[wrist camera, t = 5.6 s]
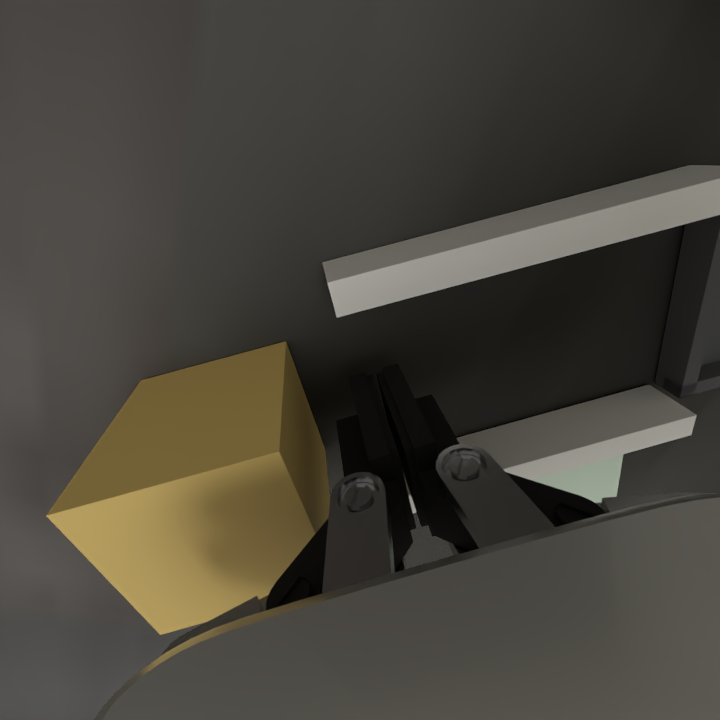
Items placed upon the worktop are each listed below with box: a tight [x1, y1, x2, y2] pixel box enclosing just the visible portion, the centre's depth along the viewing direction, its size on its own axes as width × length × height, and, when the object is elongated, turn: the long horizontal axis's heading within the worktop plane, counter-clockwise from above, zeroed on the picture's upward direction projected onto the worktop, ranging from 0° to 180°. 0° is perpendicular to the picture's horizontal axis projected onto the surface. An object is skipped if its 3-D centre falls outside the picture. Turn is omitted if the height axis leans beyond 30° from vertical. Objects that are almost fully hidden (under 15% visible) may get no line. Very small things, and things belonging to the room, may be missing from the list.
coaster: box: [532, 454, 623, 503], centre depth 18 cm, size 6×6×1 cm
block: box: [46, 341, 330, 635], centre depth 12 cm, size 5×5×6 cm
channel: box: [322, 165, 720, 513], centre depth 13 cm, size 12×10×2 cm
